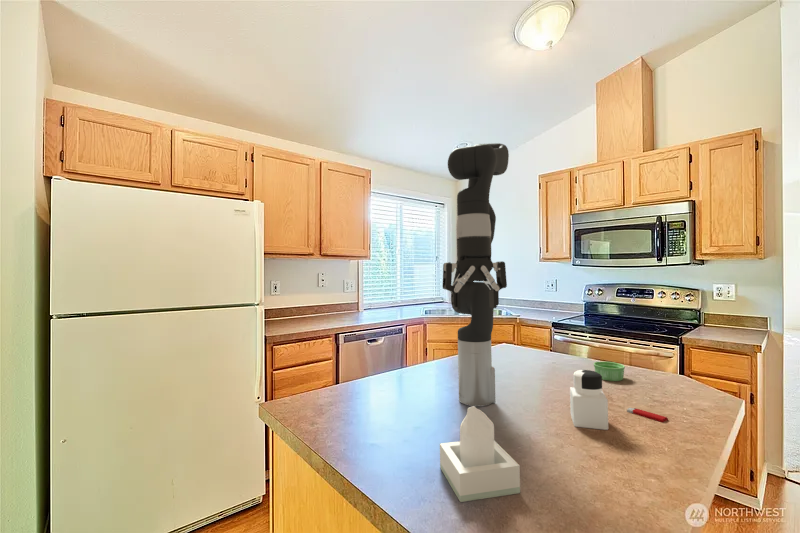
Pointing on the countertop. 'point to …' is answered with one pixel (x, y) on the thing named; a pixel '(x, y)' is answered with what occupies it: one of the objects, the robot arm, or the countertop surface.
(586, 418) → the medicine bottle
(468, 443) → the roll
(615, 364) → the ramekin
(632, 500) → the countertop surface
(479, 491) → the socket
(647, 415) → the lighter
